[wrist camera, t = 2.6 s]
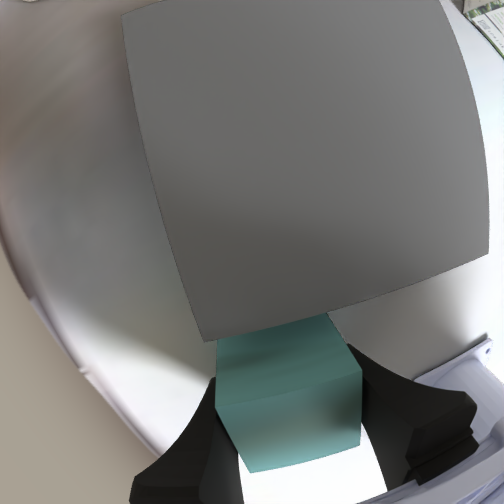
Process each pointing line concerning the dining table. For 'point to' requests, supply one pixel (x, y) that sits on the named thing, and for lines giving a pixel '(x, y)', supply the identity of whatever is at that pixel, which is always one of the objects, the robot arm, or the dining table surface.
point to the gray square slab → (306, 151)
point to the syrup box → (488, 20)
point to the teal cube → (289, 393)
